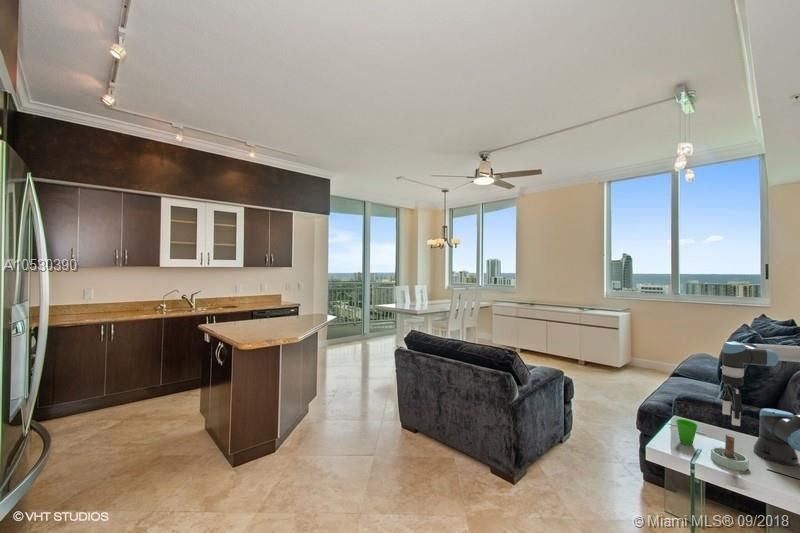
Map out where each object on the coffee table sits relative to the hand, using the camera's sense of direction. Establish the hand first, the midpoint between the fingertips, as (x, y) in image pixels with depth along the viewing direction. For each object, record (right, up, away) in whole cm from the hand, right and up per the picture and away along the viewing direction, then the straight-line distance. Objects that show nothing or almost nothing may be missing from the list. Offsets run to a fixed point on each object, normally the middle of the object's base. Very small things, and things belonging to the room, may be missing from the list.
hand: (730, 419), depth 166 cm
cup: (-7, -21, +18) cm, 28 cm away
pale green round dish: (-1, -21, 0) cm, 21 cm away
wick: (-1, -20, 0) cm, 20 cm away
